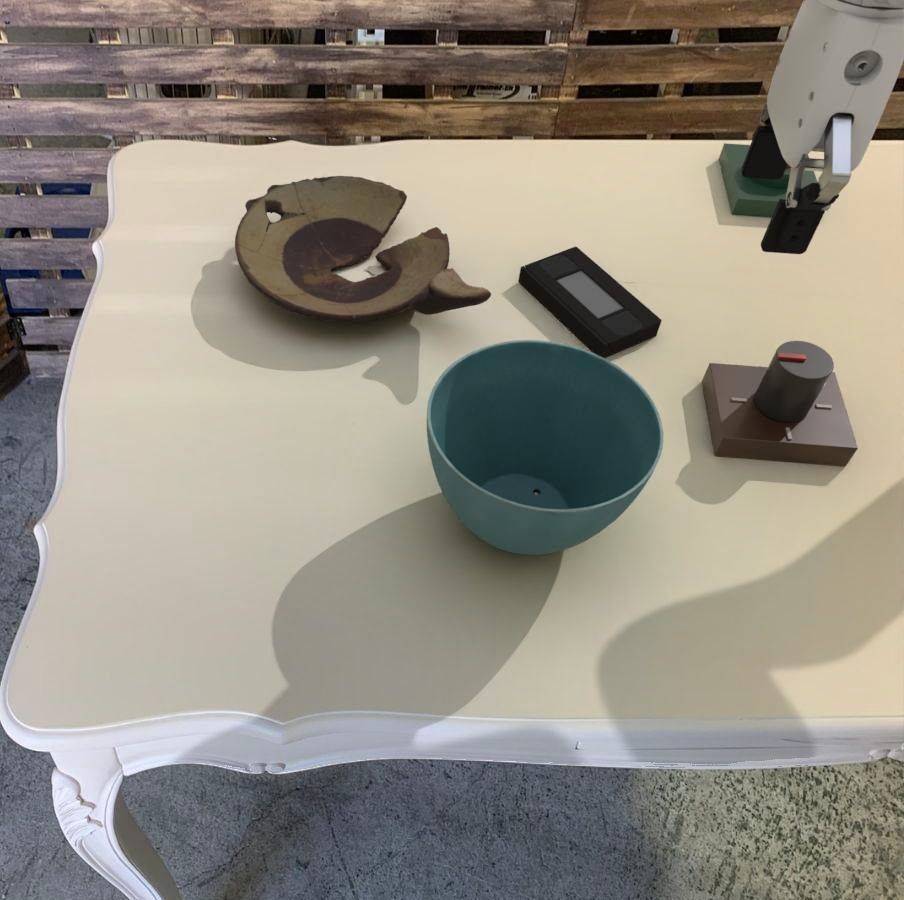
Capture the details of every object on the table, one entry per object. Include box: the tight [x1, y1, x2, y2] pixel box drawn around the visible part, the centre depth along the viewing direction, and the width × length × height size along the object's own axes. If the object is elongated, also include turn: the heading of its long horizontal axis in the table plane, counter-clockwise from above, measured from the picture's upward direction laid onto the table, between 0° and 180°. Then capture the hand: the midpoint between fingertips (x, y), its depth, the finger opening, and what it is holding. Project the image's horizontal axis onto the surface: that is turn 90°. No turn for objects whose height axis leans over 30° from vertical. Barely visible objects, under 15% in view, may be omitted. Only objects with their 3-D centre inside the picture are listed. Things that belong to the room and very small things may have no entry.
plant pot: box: [426, 339, 664, 556], centre depth 74 cm, size 18×18×12 cm
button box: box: [718, 142, 818, 219], centre depth 108 cm, size 10×12×4 cm
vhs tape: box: [518, 246, 662, 359], centre depth 95 cm, size 8×14×2 cm, turn 30°
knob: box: [754, 340, 835, 422], centre depth 82 cm, size 5×5×6 cm
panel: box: [701, 362, 859, 467], centre depth 85 cm, size 12×10×3 cm
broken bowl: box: [234, 175, 492, 323], centre depth 94 cm, size 22×30×8 cm
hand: (770, 212), depth 69 cm, fingers open, 9 cm apart
